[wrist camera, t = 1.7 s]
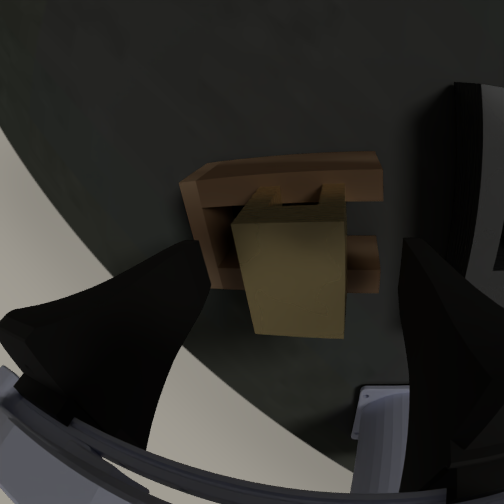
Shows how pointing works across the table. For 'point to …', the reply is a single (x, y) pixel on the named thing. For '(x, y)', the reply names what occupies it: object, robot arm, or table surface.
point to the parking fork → (292, 191)
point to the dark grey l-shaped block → (479, 189)
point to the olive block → (294, 262)
